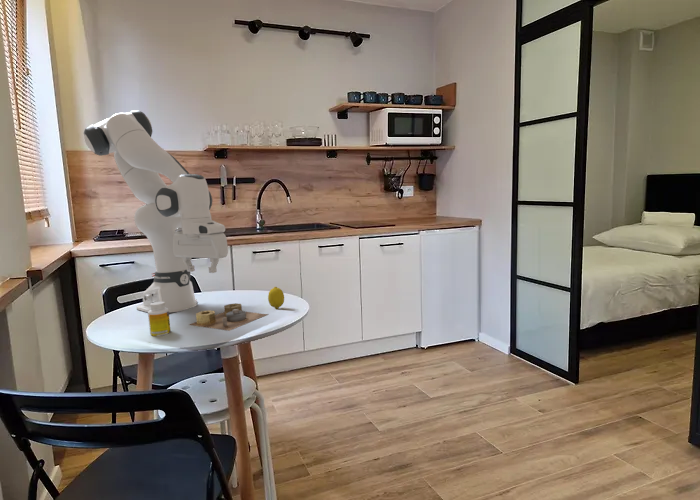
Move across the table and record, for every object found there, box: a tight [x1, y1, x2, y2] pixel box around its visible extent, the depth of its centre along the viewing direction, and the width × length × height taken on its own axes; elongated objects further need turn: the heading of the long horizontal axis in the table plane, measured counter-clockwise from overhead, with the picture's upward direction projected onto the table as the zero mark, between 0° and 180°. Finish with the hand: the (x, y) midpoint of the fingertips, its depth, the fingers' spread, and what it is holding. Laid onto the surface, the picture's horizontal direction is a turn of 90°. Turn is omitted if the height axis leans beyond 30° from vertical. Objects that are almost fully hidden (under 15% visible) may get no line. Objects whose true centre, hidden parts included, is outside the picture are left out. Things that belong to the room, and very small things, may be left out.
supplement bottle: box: [147, 301, 172, 337], centre depth 134 cm, size 6×6×10 cm
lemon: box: [267, 286, 285, 310], centre depth 159 cm, size 6×6×8 cm
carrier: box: [188, 303, 269, 332], centre depth 145 cm, size 17×18×4 cm
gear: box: [195, 309, 216, 325], centre depth 143 cm, size 6×6×3 cm
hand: (201, 272), depth 141 cm, fingers open, 8 cm apart
